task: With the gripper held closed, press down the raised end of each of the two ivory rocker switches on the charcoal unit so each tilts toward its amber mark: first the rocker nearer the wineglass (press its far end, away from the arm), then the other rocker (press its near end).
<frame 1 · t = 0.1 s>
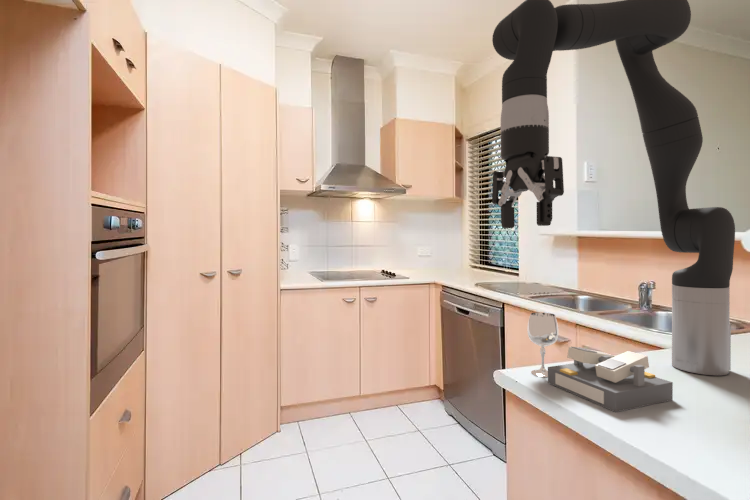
hand: (524, 226, 66), 29 cm above the table, fingers open, 8 cm apart
switch unit: (606, 390, 71), on the table
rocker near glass: (591, 356, 73), point 5 cm above the table, hinge at -12.0°
wineglass: (542, 374, 80), on the table
rocker far: (621, 365, 68), point 5 cm above the table, hinge at 12.0°
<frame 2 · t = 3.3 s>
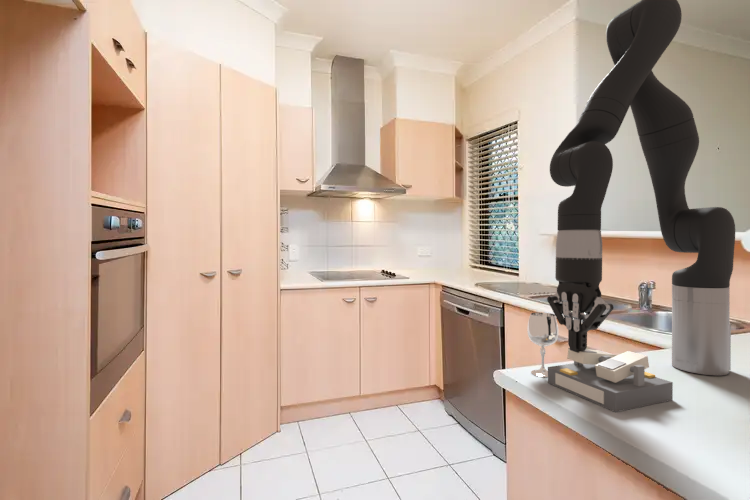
hand: (577, 351, 72), 7 cm above the table, fingers closed
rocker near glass: (591, 356, 73), point 5 cm above the table, hinge at -9.1°, touching gripper
everything else where it was.
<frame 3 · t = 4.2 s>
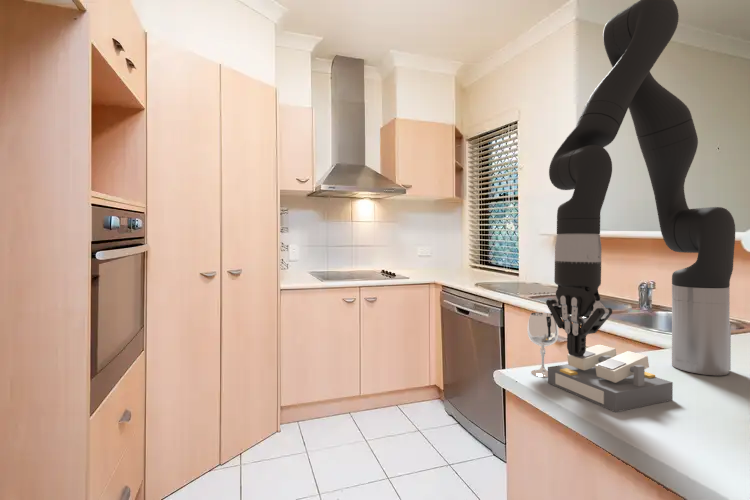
hand: (575, 354, 72), 6 cm above the table, fingers closed
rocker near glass: (591, 356, 73), point 5 cm above the table, hinge at 8.2°, touching gripper
everything else where it was.
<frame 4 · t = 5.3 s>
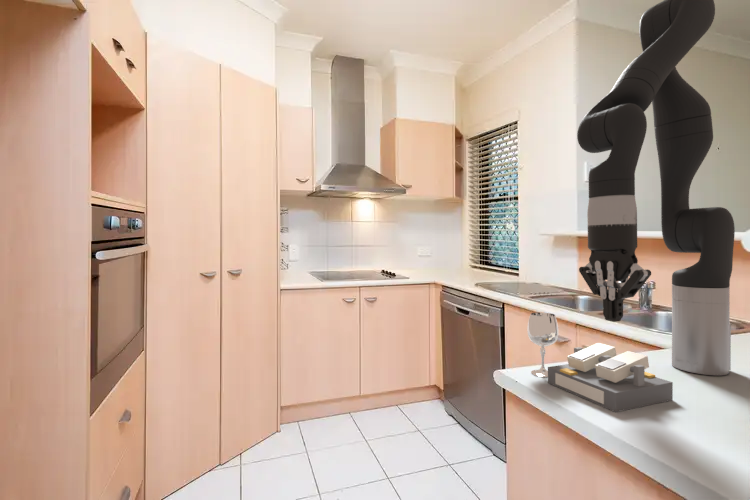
hand: (612, 320, 70), 13 cm above the table, fingers closed
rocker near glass: (591, 356, 73), point 5 cm above the table, hinge at 13.0°
everything else where it was.
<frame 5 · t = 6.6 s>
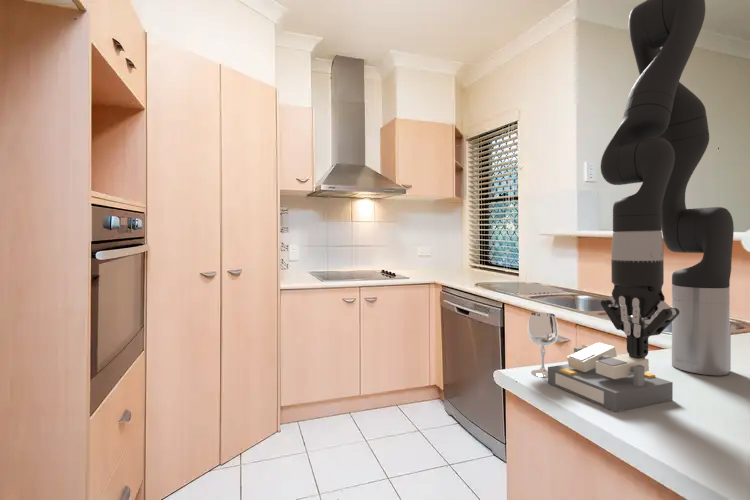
hand: (637, 357, 69), 6 cm above the table, fingers closed
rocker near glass: (591, 356, 73), point 5 cm above the table, hinge at 14.0°
rocker far: (622, 365, 68), point 5 cm above the table, hinge at 2.9°, touching gripper
everything else where it was.
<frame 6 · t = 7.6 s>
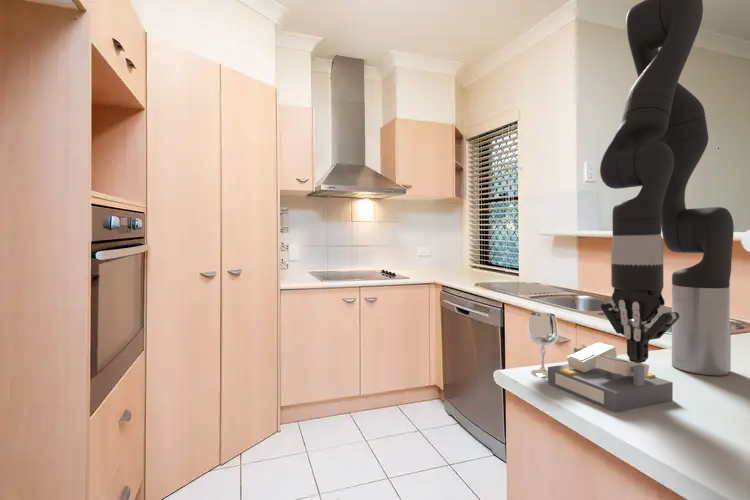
hand: (637, 361, 69), 6 cm above the table, fingers closed
rocker far: (622, 365, 68), point 5 cm above the table, hinge at -11.7°
everything else where it was.
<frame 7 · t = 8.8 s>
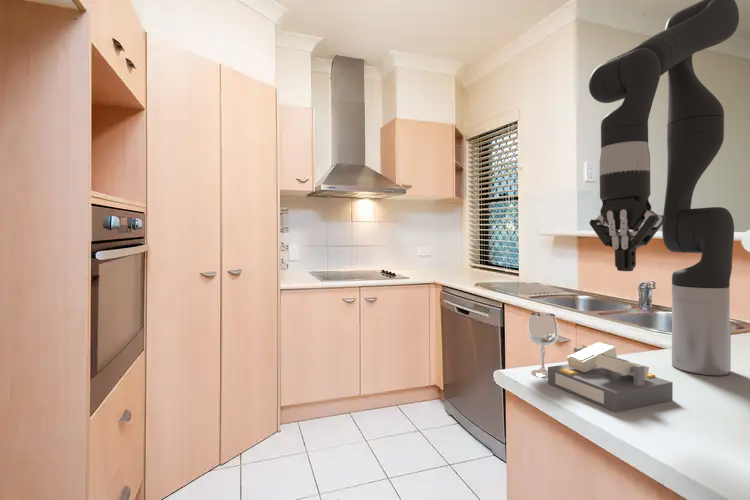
hand: (625, 270, 70), 21 cm above the table, fingers closed
rocker far: (622, 365, 68), point 5 cm above the table, hinge at -16.0°
everything else where it was.
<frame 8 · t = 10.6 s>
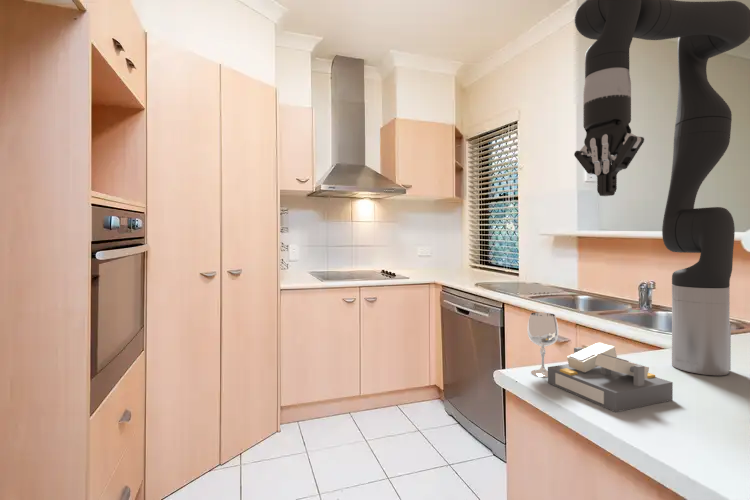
hand: (606, 195, 73), 35 cm above the table, fingers closed
rocker far: (622, 365, 68), point 5 cm above the table, hinge at -16.9°
everything else where it was.
at the end: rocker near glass at +14° (first picture: -12°); rocker far at -17° (first picture: +12°) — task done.
